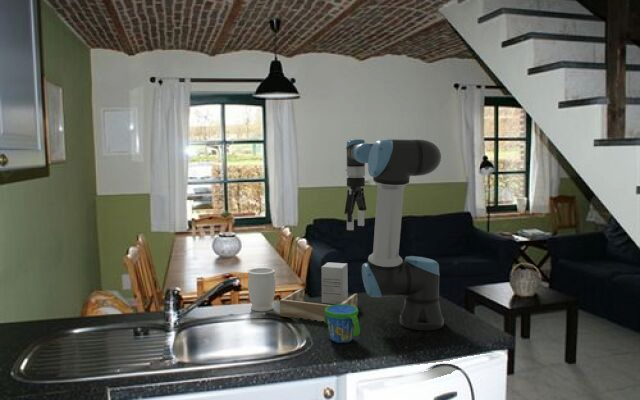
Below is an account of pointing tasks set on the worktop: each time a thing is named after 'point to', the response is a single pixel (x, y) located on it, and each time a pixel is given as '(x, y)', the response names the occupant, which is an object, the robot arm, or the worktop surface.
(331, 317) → the snack cup
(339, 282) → the supplement box
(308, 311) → the wooden u-shaped frame
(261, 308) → the jar
